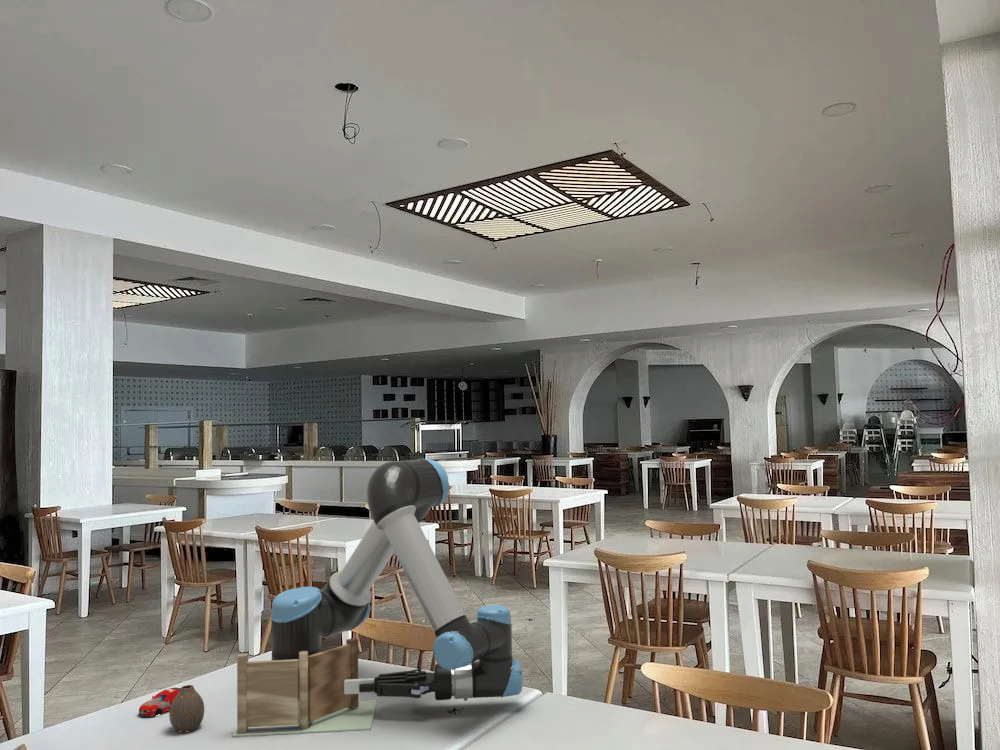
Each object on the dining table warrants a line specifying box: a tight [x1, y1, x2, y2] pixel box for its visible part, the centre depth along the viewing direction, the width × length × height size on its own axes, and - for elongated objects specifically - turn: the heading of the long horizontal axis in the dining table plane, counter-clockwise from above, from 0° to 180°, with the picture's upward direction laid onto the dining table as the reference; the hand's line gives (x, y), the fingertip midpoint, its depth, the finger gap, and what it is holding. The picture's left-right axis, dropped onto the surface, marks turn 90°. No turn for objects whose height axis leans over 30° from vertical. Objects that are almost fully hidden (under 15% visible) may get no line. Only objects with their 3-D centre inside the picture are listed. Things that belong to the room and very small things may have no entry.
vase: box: [168, 684, 205, 733], centre depth 166 cm, size 7×7×9 cm
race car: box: [138, 687, 181, 718], centre depth 179 cm, size 13×5×4 cm, turn 152°
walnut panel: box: [308, 637, 359, 722], centre depth 171 cm, size 13×2×15 cm, turn 142°
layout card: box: [232, 699, 378, 738], centre depth 170 cm, size 17×28×1 cm, turn 95°
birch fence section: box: [236, 651, 308, 733], centre depth 164 cm, size 2×14×16 cm, turn 94°
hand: (344, 686), depth 171 cm, fingers closed
